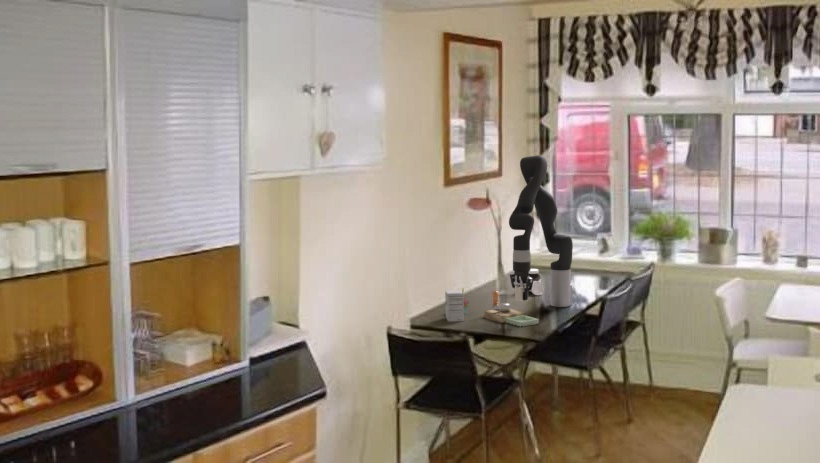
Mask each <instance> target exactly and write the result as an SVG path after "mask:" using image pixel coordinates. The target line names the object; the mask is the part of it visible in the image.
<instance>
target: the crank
mask: <svg viewBox="0 0 820 463" xmlns="http://www.w3.org/2000/svg"><path fill="white" fill-rule="evenodd" d="M511 306H512V305H511V303H509V302H502V303H501V302H500V303H499V291H498V290H493V291H492V308H494V309H499V311H500V312H510V311H511V308H512V307H511Z"/></svg>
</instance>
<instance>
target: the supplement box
mask: <svg viewBox="0 0 820 463" xmlns="http://www.w3.org/2000/svg"><path fill="white" fill-rule="evenodd" d="M444 298H445V318H446V321H447V322H448V323H449V322H464V321H465V314H464V299H465V296H464V292H462V290H461V289H454V290H453V289H452V290H449V289H447V290H445V296H444Z"/></svg>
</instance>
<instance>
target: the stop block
mask: <svg viewBox="0 0 820 463" xmlns="http://www.w3.org/2000/svg"><path fill="white" fill-rule="evenodd" d="M518 286H519V285H518ZM525 288H526V287H525ZM514 301H515V302H519V303H525V302H529V298H528V299H527V300H525V301H524V300H523V290H522V287H521V286H519V287H515V288H514Z"/></svg>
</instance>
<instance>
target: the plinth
mask: <svg viewBox="0 0 820 463" xmlns="http://www.w3.org/2000/svg"><path fill="white" fill-rule="evenodd" d="M483 313H484V314H483V315H484V316H483V318H484V319H487V320H490V321H495V322H498V323H501V324H504V323H506V318H510V317H516V316H522V315H525V316H527V314H526V311H522V310H519V309H516V308H515V309H514V308H512V307H511V311H510V312H500V311H499V309H498V308H493V309H489V310H484V311H483Z"/></svg>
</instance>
